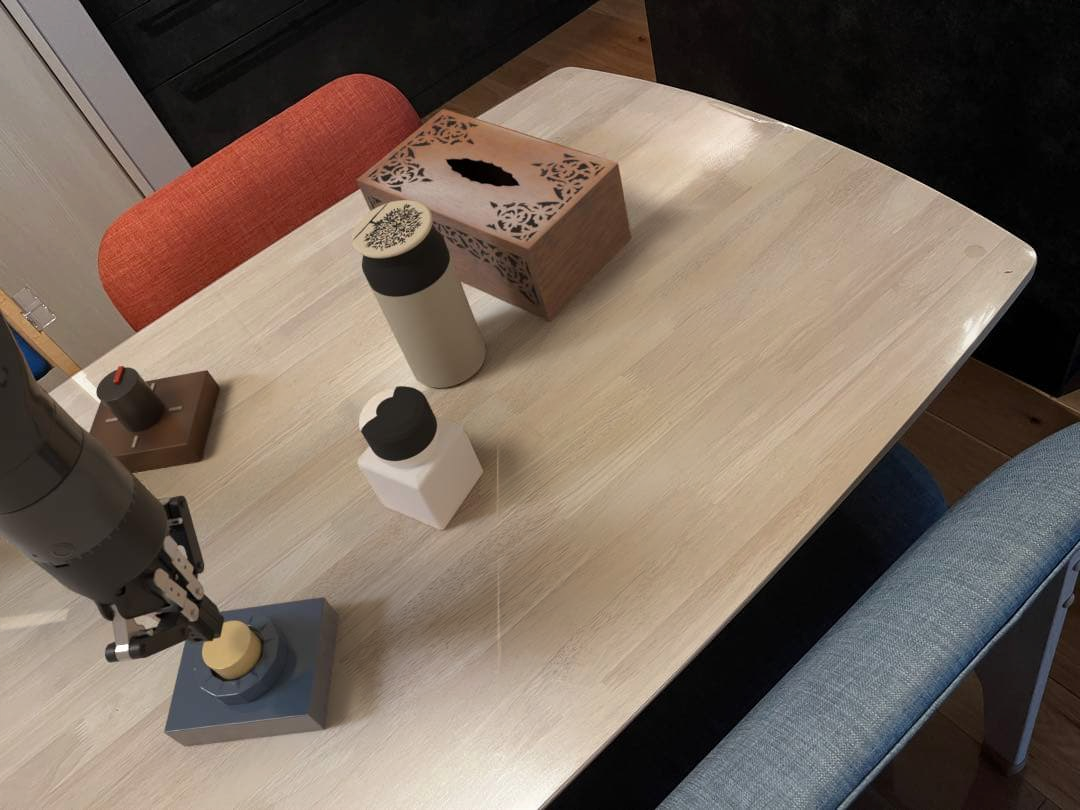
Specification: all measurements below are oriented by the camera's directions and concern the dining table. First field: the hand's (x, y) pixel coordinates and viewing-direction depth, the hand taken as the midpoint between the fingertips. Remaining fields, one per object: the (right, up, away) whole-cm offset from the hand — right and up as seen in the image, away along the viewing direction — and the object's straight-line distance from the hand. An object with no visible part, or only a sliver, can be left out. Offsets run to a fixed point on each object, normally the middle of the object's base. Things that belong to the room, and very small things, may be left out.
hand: (211, 630), depth 69 cm
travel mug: (+15, +21, +26) cm, 37 cm away
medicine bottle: (+15, +9, +16) cm, 24 cm away
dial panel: (-16, +14, +28) cm, 35 cm away
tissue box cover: (+21, +35, +36) cm, 55 cm away
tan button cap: (+1, -3, +3) cm, 5 cm away
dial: (-16, +16, +26) cm, 35 cm away
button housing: (+2, -6, +7) cm, 9 cm away
